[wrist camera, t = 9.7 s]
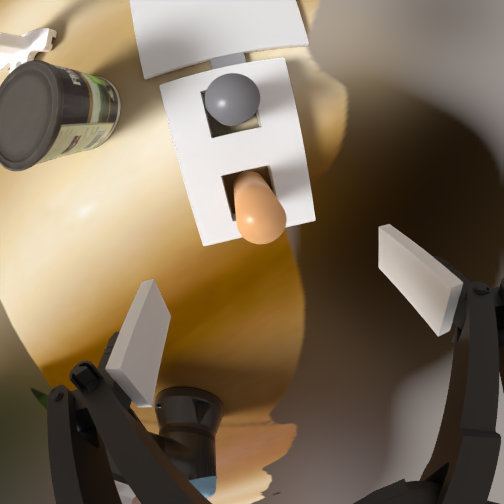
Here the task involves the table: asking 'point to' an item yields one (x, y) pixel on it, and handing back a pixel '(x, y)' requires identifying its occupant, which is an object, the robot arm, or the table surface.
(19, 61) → the joystick
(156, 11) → the lid
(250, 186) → the jaw pin orange
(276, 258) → the table surface
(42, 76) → the coffee can
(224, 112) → the ball
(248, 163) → the housing
